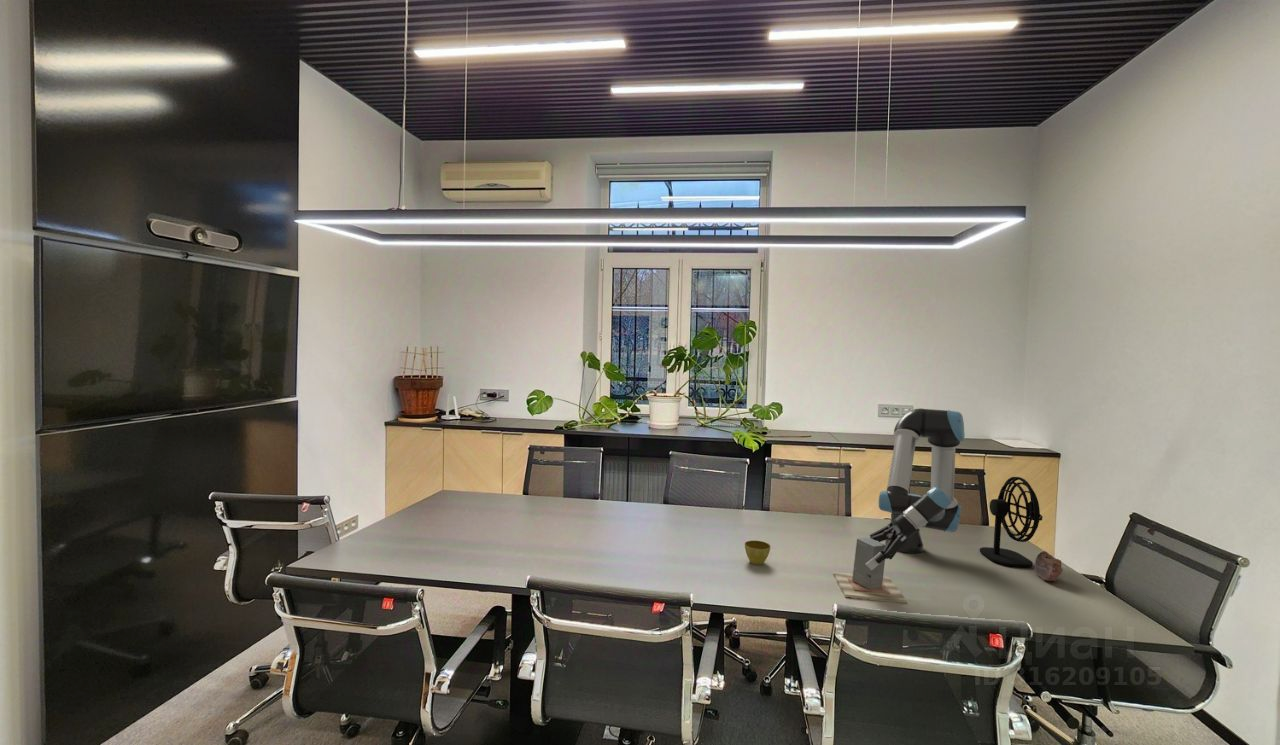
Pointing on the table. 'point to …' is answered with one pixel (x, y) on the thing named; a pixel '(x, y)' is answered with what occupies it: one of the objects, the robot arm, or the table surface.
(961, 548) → the table surface
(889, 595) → the seat board
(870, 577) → the skincare box
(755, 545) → the flower pot
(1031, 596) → the table surface
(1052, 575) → the stone
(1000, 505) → the desk fan
